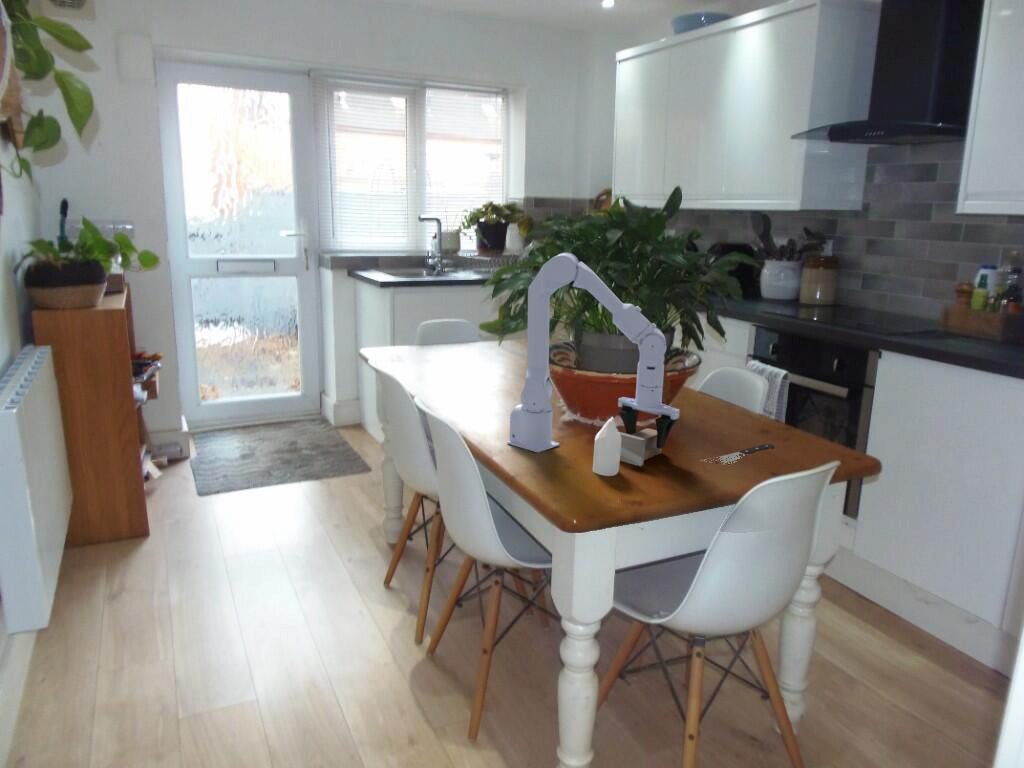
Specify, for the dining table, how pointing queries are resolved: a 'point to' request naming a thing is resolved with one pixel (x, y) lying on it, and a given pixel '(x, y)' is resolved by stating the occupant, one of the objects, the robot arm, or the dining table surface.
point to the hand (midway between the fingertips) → (645, 443)
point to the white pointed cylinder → (607, 450)
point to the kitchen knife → (747, 451)
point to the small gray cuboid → (639, 446)
